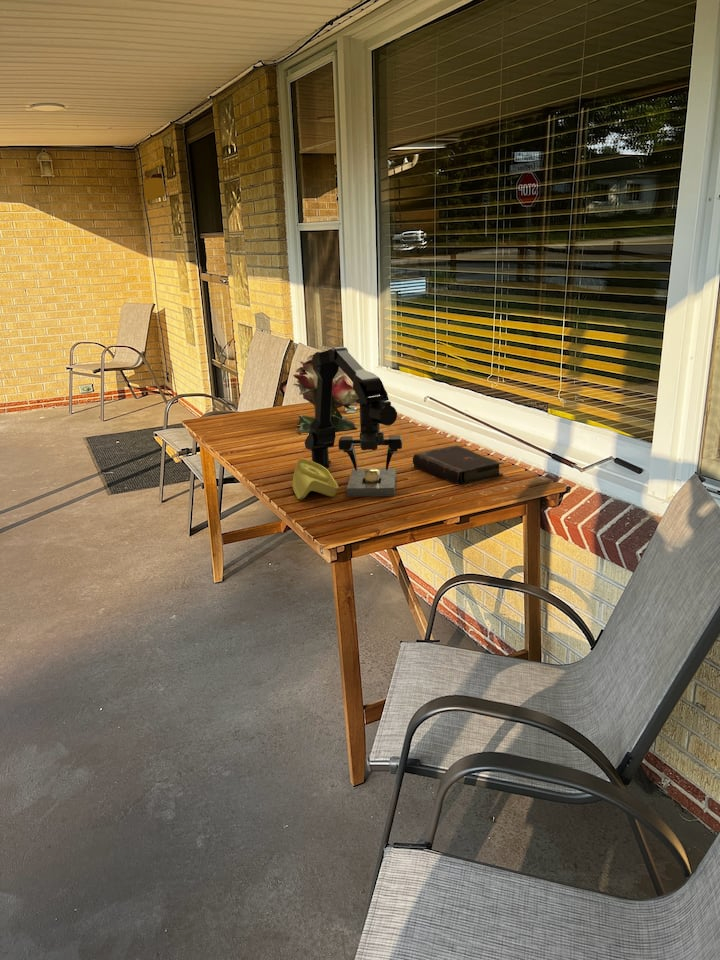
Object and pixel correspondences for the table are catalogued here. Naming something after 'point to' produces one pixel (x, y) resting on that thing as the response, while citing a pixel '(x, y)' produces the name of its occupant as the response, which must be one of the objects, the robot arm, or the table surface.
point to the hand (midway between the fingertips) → (371, 470)
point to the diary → (457, 465)
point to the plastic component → (312, 479)
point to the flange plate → (381, 489)
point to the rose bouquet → (340, 397)
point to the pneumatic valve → (350, 409)
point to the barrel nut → (371, 476)
